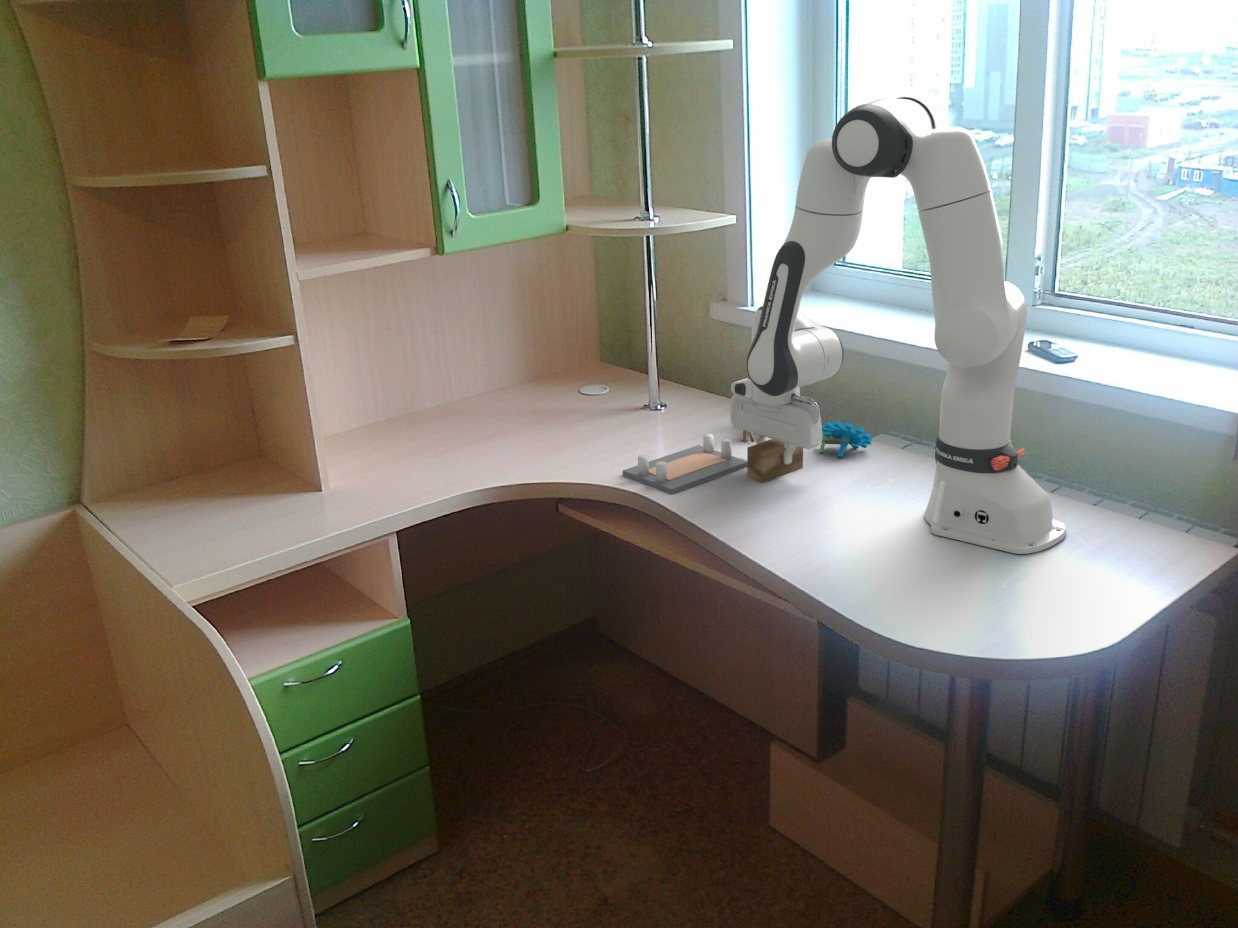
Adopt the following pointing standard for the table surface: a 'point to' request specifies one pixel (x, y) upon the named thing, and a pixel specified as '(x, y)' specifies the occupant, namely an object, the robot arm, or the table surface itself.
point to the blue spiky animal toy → (843, 436)
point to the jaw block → (771, 460)
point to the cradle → (686, 466)
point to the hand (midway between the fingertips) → (775, 459)
